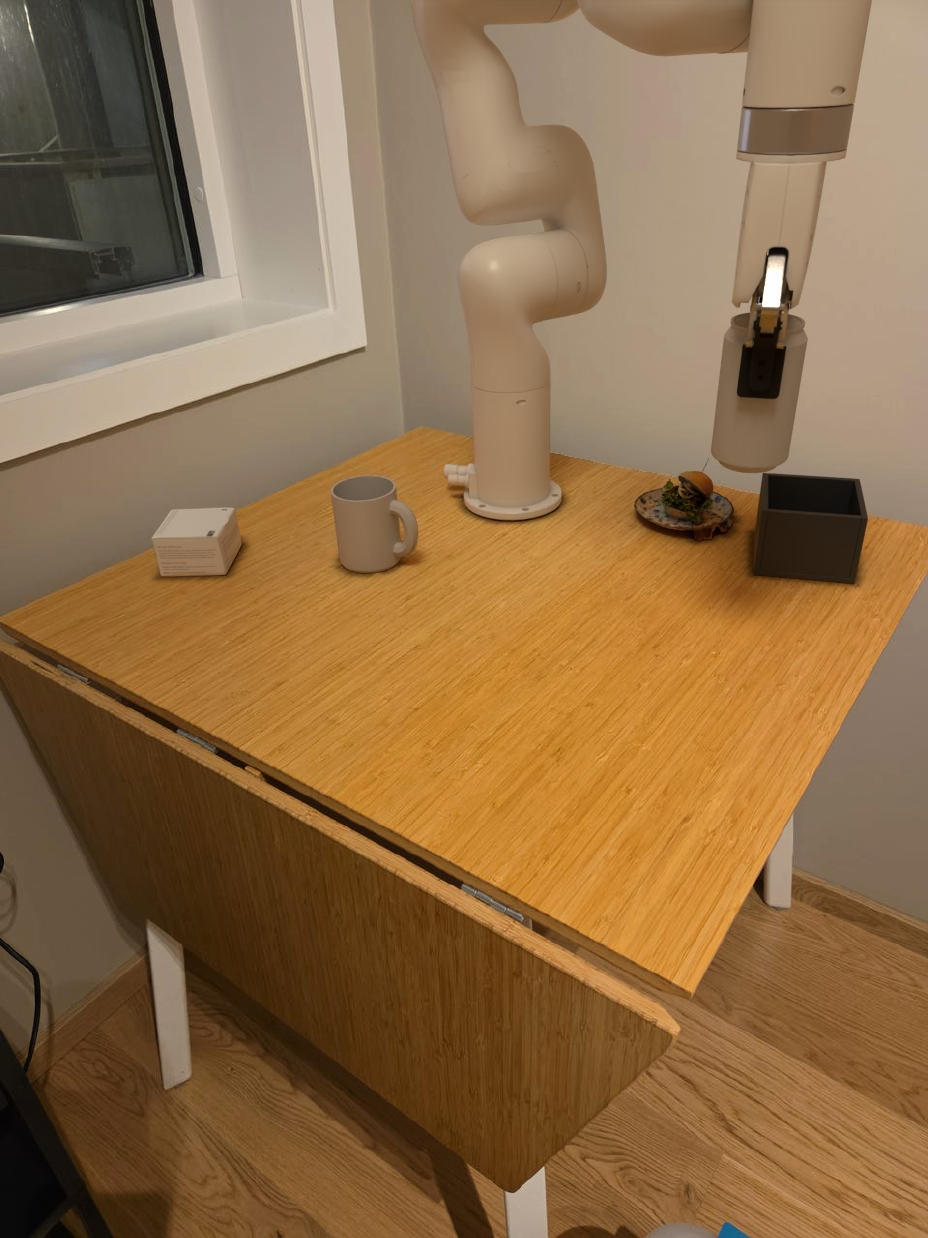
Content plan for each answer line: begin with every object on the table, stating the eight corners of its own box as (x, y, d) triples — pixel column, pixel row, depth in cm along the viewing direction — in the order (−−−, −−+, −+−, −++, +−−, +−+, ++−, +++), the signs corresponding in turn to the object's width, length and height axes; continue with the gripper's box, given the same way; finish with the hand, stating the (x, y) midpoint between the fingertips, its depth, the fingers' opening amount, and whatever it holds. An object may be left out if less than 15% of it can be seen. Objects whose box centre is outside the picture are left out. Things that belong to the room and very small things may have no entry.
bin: (753, 574, 97) (762, 510, 93) (754, 533, 106) (762, 472, 102) (854, 584, 95) (868, 518, 91) (847, 540, 103) (859, 478, 99)
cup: (359, 541, 108) (351, 471, 104) (434, 554, 105) (429, 483, 100) (328, 568, 103) (317, 496, 98) (405, 583, 99) (399, 509, 94)
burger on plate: (628, 499, 115) (631, 444, 111) (722, 497, 114) (728, 441, 110) (640, 542, 105) (644, 483, 101) (743, 540, 104) (751, 480, 100)
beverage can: (792, 453, 79) (816, 312, 72) (779, 481, 74) (803, 332, 68) (719, 443, 81) (735, 306, 75) (701, 470, 76) (717, 325, 70)
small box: (180, 546, 109) (170, 507, 107) (243, 544, 109) (236, 506, 106) (159, 577, 103) (149, 537, 100) (227, 576, 102) (218, 535, 100)
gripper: (743, 125, 72) (718, 350, 82) (731, 148, 58) (703, 415, 68) (843, 123, 70) (805, 354, 80) (856, 146, 56) (808, 422, 66)
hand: (758, 380), depth 74 cm, fingers closed on beverage can, 6 cm apart
